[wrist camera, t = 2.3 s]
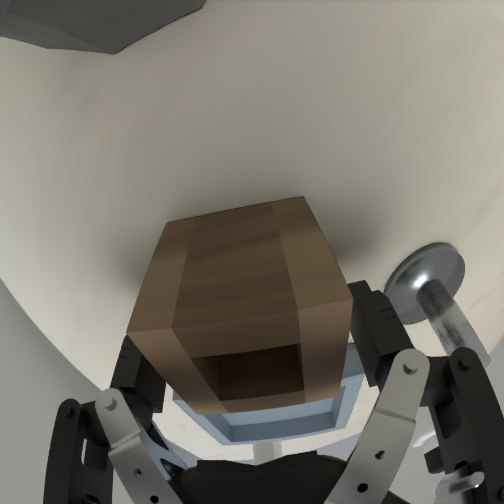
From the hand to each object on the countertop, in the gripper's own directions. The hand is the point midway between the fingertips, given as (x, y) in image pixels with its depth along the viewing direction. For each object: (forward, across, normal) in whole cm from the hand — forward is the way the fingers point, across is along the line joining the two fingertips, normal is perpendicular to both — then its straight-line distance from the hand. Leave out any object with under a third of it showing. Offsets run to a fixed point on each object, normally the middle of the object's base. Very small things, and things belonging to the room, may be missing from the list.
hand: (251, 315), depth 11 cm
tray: (+3, 0, +14) cm, 15 cm away
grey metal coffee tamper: (+3, -10, +4) cm, 11 cm away
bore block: (+3, 0, 0) cm, 3 cm away
